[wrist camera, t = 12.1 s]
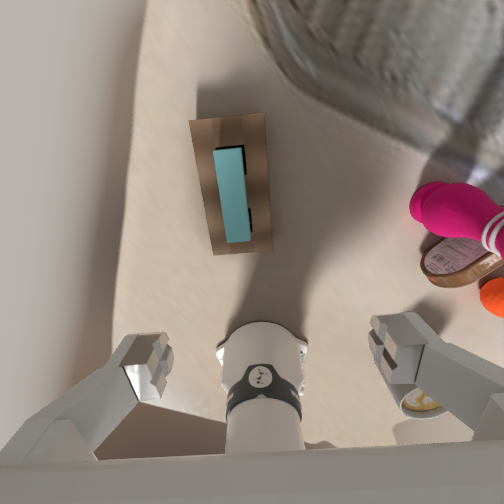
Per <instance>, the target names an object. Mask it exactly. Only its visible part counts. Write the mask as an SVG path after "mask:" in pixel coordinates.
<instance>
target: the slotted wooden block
mask: <svg viewBox="0 0 504 504" xmlns="http://www.w3.org/2000/svg"><path fill="white" fill-rule="evenodd" d="M189 125H190V131H191V136H192V142H193V147H194V152H195V158H196V163H197V169H198V174H199V180H200V185H201V190H202V196H203V201H204V207H205V212H206V218H207V223H208V228H209V234H210V239H211V245H212V250H213V255H225V254H238V253H250V252H262V251H273V244H272V228H271V212H270V197H269V181H268V165H267V150H266V134H265V118H264V112H262V113H253V114H244V115H235V116H226V117H217V118H208V119H199V120H190V121H189ZM234 145H244V148H245V158H246V168H247V171H244V176H245V186H246V195H247V204H248V208H251V218H252V223H250V232H251V233H250V241H244V242H233V243H227V239H226V233H225V226H224V220H223V213H222V207H221V200H220V194H219V187H218V181H217V174H216V168H215V162H214V155H213V151H215V150H220V147H225V146H234Z"/></svg>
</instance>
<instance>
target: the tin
mask: <svg viewBox="0 0 504 504" xmlns="http://www.w3.org/2000/svg"><path fill="white" fill-rule="evenodd" d="M500 207H503V208H504V205H503V206H500ZM503 264H504V261H503V259H502V257H501V256H499V255H496V254H495V253H493V252H490V251H488V250H487V249H485V248H484V246H483V245H482V242H480V241H477V240H474V239H471V238H466V237H460V238H450V237H444V238H443V239H442V240H440V241H439V242H437V243H436V244H435V245H433V246H432V247H431V248H429V249H428V250H427V251H426V252H425V253H424V255H423V256H422V258H421V262H420V267H421V270H422V271H423V273H424V274H425V275H426V276H427V278H428V279H429V281H430V282H431V283H432V284H434V285H436V286H439V287H443V288H458V287H463V286H466V285H469V284H472V283H474V282H476V281H478V280H479V279H481V278H482V277H484V276H486V275H487V274H489V273H490V272H492V271H494V270H495V269H497V268H498V267H500V266H502V265H503Z"/></svg>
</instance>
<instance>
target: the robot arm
mask: <svg viewBox="0 0 504 504" xmlns="http://www.w3.org/2000/svg"><path fill="white" fill-rule="evenodd" d="M370 324H371V326H372V328H373V329H372V330H371V331H370V332H369V339H368V340H369V346H370V349H371V352H372V354H373V355H374V357H375V358H376V359H377V360H379V361H380V362H381V370H382V371H383V373H384V375H385V377H386V378H387V380H388V382H389V384H412V383H415V385H416V386H417V387H419V388H420V389H421V390H422V391H424V392H425V393H426V394H427V395H429V396H430V397H431V398H433V399H434V400H435V401H436V402H438V403H439V404H440V405H441V406H443V407H444V408H445V409H447V410H448V411H449V412H450V413H452V414H453V415H454V416H456V417H457V418H458V419H459V420H461V421H462V422H463V423H464V424H466V425H467V426H468V427H470V428H471V429H472V430H473V431H475V432H474V435H473V437H472V439H471V441H470V442H451V443H431V444H412V445H392V446H373V447H353V448H335V449H316V450H305V445H304V440H303V435H302V429H301V420H302V413H301V411H302V410H301V409H302V408H301V402H300V399H299V396H302V395H303V393H304V388H303V387H304V385H305V381H304V372H303V364H304V361H305V357H306V354H307V350H308V347H307V343H306V342H304V341H302V340H300V339H298V338H296V337H294V336H293V335H292V334H291V333H290V332H289V331H288V330H287V329H285V328H284V327H282V326H280V325H277V324H274V323H269V322H255V323H250V324H247V325H244V326H242V327H240V328H238V329H237V330H236V331H234V332H233V333H232V334H231V336H230V337H229V339H228V340H227V341H226V342H225V343H224V344H222V345H220V346H219V347H218V348H217V349H216V355H217V357H218V359H219V361H220V363H221V365H222V374H221V386H223V388H224V390H225V392H226V393H227V395H228V397H227V403H226V421H227V424H228V427H227V438H226V449H225V454H216V455H197V456H177V457H159V458H158V457H157V458H137V459H119V460H98V459H97V458H96V456H95V455H94V453H93V452H94V451H95V449H96V448H97V447H98V446H99V445H100V444H101V443H102V442H103V441H104V439H106V437H107V436H108V435H109V434H110V433H111V432H112V431H113V430H114V429H115V428H116V427H117V425H118V424H119V423H120V422H121V421H122V420H123V419H124V418H125V417H126V416H127V414H128V413H129V412H130V411H131V410H132V409H133V408H134V407H135V406H136V405H137V403H138V401H145V400H155V399H161V397H162V394H163V391H164V389H165V386H166V383H167V382H166V379H165V377H166V376H167V375H168V374H169V373H170V372H171V369H172V366H173V359H174V356H173V350H172V347H170V346H169V345H168V344H167V343H168V340H169V338H168V336H167V333H165V332H153V333H140V334H128V335H126V336H125V337H124V339H123V340H122V342H121V343H120V344H119V346H118V347H117V349H116V350H115V352H114V353H113V355H112V356H111V358H110V359H109V361H108V362H107V364H106V365H105V367H104V368H100V369H98V370H96V371H95V372H94V373H92V374H91V375H89V376H88V377H87V378H85V379H84V380H82V381H81V382H80V383H78V384H77V385H75V386H74V387H73V388H71V389H70V390H68V391H67V392H66V393H64V394H63V395H61V396H60V397H58V398H57V399H56V400H54V401H53V402H51V403H50V404H49V405H47V406H46V407H44V408H43V409H41V410H40V411H39V412H37V413H36V414H34V415H33V416H32V417H30V418H29V419H27V420H26V421H25V422H24V424H23V425H22V426H21V427H20V428H19V430H18V431H17V432H16V433H15V434H14V436H13V437H12V438H11V439H10V440H9V442H8V443H7V444H6V446H4V448H3V449H2V450H1V451H0V504H504V368H502V367H500V366H498V365H496V364H494V363H491V362H489V361H487V360H485V359H483V358H481V357H479V356H477V355H475V354H473V353H470V352H468V351H466V350H464V349H462V348H460V347H458V346H456V345H454V344H452V343H445V342H444V341H443V340H442V339H441V338H440V337H439V336H438V335H437V334H436V333H435V332H434V331H433V330H432V328H431V327H430V326H429V325H428V324H427V323H426V322H425V321H424V320H423V319H422V318H421V317H420V316H419V315H418V314H417V313H415V312H404V313H395V314H384V315H372V317H371V321H370Z"/></svg>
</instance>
